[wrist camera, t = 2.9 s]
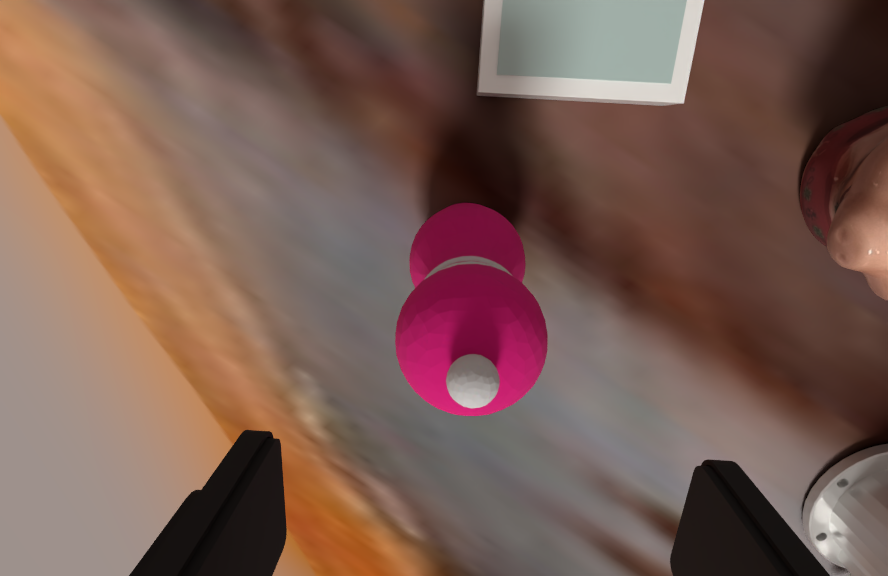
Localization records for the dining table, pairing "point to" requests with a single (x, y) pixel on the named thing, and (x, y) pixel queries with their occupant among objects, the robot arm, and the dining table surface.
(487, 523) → the dining table surface
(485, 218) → the pepper mill
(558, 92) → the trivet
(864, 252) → the decorative planter
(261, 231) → the dining table surface
